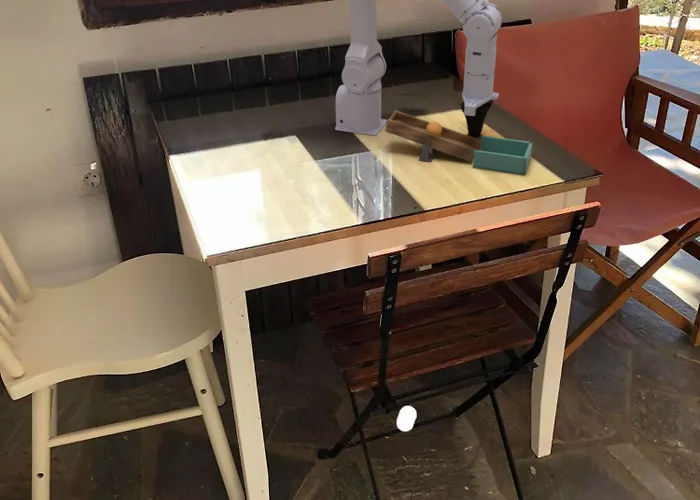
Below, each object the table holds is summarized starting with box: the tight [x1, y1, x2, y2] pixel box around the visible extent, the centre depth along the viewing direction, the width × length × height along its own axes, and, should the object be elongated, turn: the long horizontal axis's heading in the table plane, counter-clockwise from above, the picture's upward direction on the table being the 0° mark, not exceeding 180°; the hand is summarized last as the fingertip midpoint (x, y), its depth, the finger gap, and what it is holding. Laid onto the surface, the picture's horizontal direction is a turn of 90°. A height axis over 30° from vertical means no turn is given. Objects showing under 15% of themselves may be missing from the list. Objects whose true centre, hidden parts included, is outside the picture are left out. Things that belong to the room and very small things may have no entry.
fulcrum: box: [418, 143, 439, 163], centre depth 145 cm, size 2×8×4 cm, turn 159°
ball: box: [426, 121, 443, 137], centre depth 143 cm, size 3×3×3 cm
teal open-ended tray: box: [472, 134, 534, 176], centre depth 141 cm, size 10×8×4 cm
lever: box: [384, 110, 484, 162], centre depth 146 cm, size 18×12×3 cm, turn 70°
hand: (474, 135), depth 147 cm, fingers closed, pressing on lever
